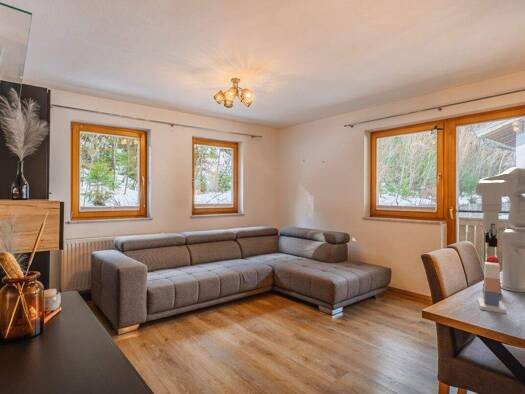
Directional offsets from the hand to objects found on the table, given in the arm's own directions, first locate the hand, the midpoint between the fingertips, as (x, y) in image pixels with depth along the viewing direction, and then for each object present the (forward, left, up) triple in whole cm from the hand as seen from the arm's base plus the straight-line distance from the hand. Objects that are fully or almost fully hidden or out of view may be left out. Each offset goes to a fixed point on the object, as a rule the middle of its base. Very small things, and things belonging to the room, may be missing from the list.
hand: (491, 244), depth 143 cm
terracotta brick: (+6, 0, -20) cm, 21 cm away
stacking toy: (-19, +3, -27) cm, 33 cm away
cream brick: (+6, 0, -14) cm, 15 cm away
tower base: (+6, 0, -27) cm, 28 cm away
